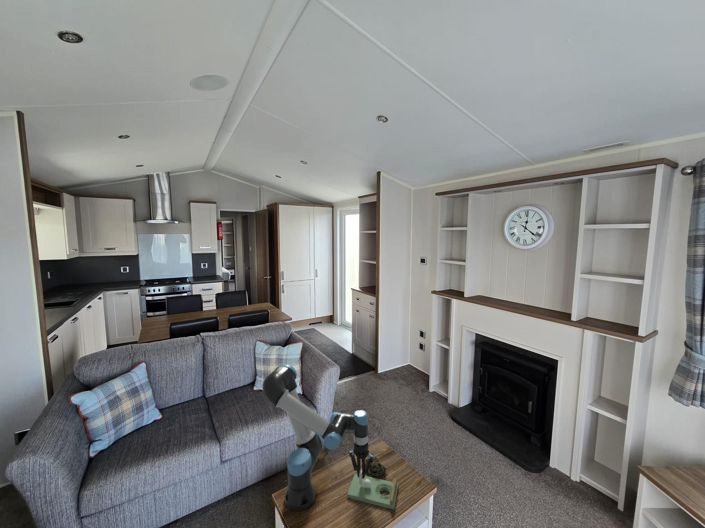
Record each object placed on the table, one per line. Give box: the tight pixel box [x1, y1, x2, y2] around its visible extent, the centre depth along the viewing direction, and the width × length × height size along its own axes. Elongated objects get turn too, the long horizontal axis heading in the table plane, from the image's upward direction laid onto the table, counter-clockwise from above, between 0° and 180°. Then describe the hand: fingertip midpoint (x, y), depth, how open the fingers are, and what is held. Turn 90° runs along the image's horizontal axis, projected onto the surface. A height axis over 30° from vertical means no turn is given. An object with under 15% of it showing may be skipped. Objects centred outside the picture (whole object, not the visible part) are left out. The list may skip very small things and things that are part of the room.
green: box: [346, 473, 399, 510], centre depth 163 cm, size 24×14×4 cm, turn 74°
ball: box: [363, 479, 371, 488], centre depth 164 cm, size 4×4×4 cm
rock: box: [365, 456, 387, 478], centre depth 177 cm, size 13×10×10 cm
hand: (361, 482), depth 165 cm, fingers closed
